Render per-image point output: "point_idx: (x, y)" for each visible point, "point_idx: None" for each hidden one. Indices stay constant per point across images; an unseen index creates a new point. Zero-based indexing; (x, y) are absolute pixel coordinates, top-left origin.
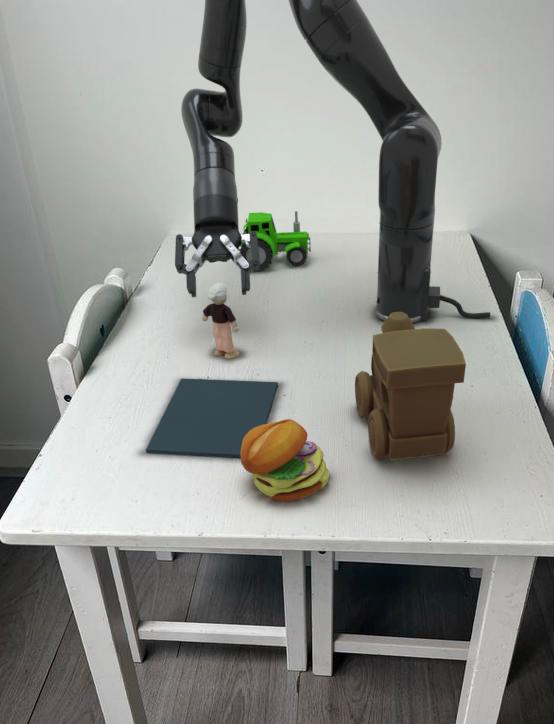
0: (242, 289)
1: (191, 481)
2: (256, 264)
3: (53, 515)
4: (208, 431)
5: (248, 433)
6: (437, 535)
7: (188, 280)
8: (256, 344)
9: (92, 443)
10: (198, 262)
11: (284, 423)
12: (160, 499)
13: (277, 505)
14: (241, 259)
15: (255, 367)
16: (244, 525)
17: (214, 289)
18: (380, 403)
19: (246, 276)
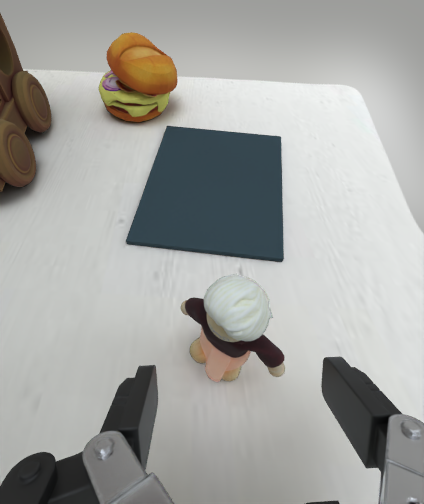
0: (151, 365)
1: (226, 112)
2: (41, 452)
3: (328, 91)
4: (219, 155)
5: (165, 63)
6: (42, 70)
7: (377, 397)
8: None
9: (345, 154)
10: (383, 476)
11: (125, 42)
12: (248, 99)
13: None
14: (116, 480)
15: (159, 299)
16: (178, 80)
17: (244, 281)
18: (4, 108)
19: (120, 415)
